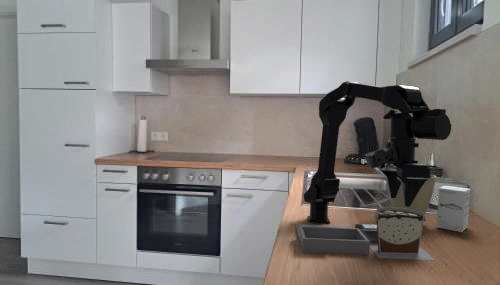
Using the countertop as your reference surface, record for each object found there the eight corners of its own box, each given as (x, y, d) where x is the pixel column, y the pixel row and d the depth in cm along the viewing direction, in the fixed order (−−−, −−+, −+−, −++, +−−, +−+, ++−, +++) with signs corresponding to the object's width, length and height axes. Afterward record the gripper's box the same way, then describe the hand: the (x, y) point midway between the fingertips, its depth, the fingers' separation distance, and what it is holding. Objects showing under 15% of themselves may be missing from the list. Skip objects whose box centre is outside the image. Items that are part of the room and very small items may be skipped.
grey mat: (366, 244, 91) (366, 242, 91) (417, 246, 90) (417, 245, 90) (378, 259, 81) (378, 257, 81) (435, 261, 80) (435, 260, 80)
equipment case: (295, 227, 105) (296, 215, 105) (348, 229, 104) (349, 217, 104) (302, 252, 84) (303, 238, 84) (369, 255, 83) (369, 241, 83)
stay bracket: (354, 236, 98) (355, 223, 97) (398, 238, 97) (398, 225, 97) (360, 243, 92) (360, 230, 91) (406, 245, 91) (407, 232, 91)
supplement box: (435, 227, 108) (438, 187, 107) (442, 223, 113) (444, 184, 113) (463, 233, 103) (465, 191, 102) (468, 228, 108) (471, 188, 108)
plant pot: (444, 228, 107) (447, 177, 106) (401, 230, 104) (404, 177, 103) (412, 216, 122) (415, 170, 121) (374, 217, 119) (376, 170, 118)
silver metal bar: (361, 235, 96) (361, 224, 96) (394, 237, 96) (395, 225, 95) (364, 239, 93) (365, 227, 93) (398, 241, 92) (399, 229, 92)
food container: (412, 245, 90) (414, 207, 89) (424, 254, 84) (426, 213, 83) (364, 244, 90) (366, 206, 89) (373, 253, 84) (375, 212, 83)
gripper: (358, 136, 94) (356, 193, 95) (381, 138, 75) (378, 210, 76) (401, 137, 93) (398, 195, 94) (433, 140, 75) (430, 212, 75)
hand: (399, 202), depth 85 cm, fingers open, 9 cm apart
